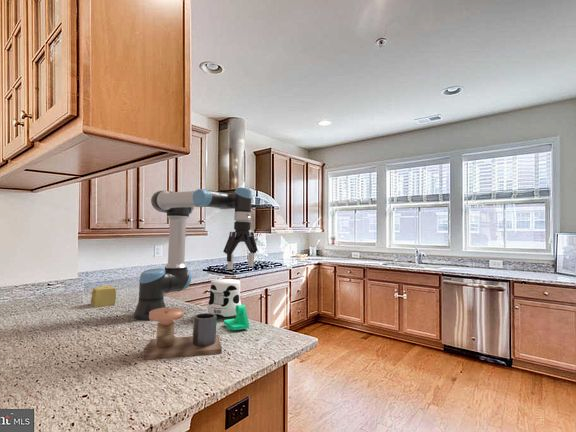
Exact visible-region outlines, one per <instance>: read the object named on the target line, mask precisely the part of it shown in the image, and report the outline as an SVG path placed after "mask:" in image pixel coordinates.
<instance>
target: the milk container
mask: <svg viewBox="0 0 576 432" xmlns="http://www.w3.org/2000/svg"><path fill="white" fill-rule="evenodd" d="M209 287H210V288H209V298H208V299H209V300H208V303H207V313H212V314H215V315H216V316H217V319H232V318H236V315H237V314H236V306H237V305H242V302H241V301H242V300H241V280H239V279H234V278H233V279H232V278H217V279H212V280H211V281H210V285H209Z"/></svg>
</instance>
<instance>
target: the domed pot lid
mask: <svg viewBox="0 0 576 432" xmlns="http://www.w3.org/2000/svg"><path fill="white" fill-rule="evenodd" d="M165 307H166V306H165ZM184 312H185V311H184V309H183V308H182V307H173V306H171V307H170V306H167V307H166V308H158V309H154V310H151V311H150V312H149V319H150V320H149V321H154V322H158V323H159V325H171V324H173V322H174V321H177V320H180V319H182V318H184V315H185V313H184Z"/></svg>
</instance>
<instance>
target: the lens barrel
mask: <svg viewBox="0 0 576 432" xmlns="http://www.w3.org/2000/svg"><path fill="white" fill-rule="evenodd" d="M217 319H218V318H217V316H216V315H215V314H212V313H208V312H206V313H205V312H204V313H198V314H195V315H193V320H192V336H193V340H192V343H193V345H195V346H200V347H205V346H210V345H213V344H214V343H215V342H216V335H217Z"/></svg>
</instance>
